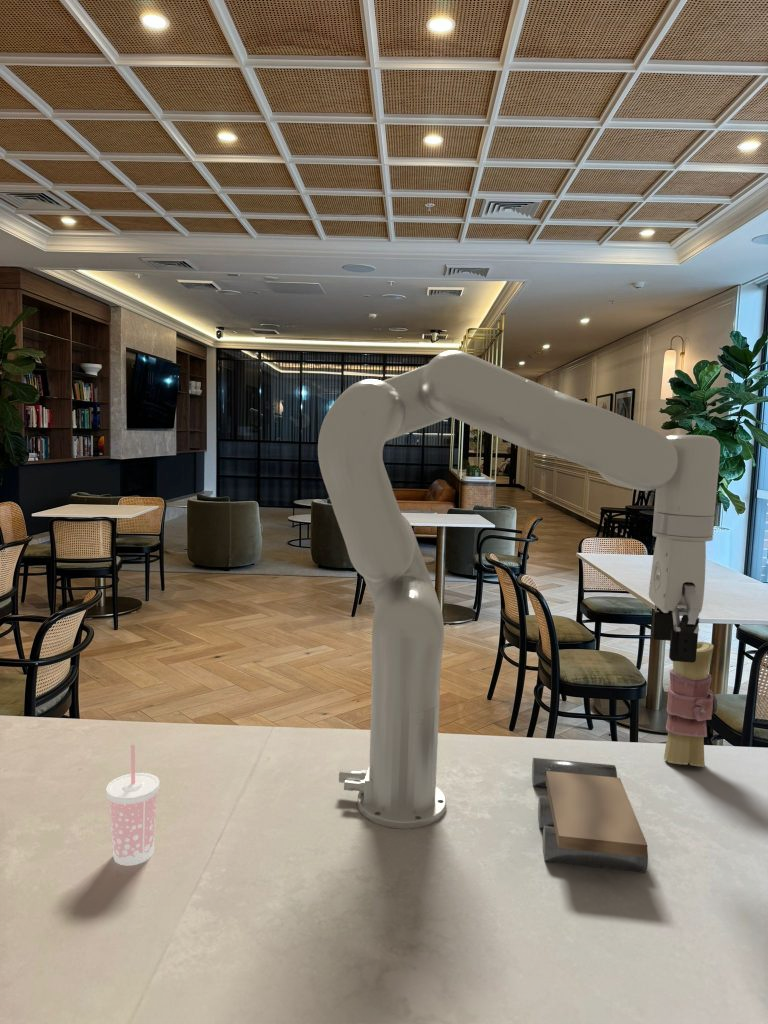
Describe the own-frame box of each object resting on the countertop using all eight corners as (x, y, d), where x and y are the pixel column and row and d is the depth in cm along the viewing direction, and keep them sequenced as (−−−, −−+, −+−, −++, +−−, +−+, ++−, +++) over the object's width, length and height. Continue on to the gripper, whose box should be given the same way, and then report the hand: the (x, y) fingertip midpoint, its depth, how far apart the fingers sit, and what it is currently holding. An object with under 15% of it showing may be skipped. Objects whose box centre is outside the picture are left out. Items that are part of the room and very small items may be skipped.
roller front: (544, 867, 85) (546, 837, 84) (542, 848, 88) (543, 819, 88) (646, 879, 83) (648, 848, 82) (639, 859, 87) (641, 829, 86)
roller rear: (539, 834, 93) (541, 813, 91) (537, 810, 96) (539, 789, 94) (631, 844, 91) (635, 823, 89) (626, 819, 95) (630, 798, 93)
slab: (558, 847, 81) (558, 835, 81) (545, 781, 97) (546, 770, 97) (646, 857, 80) (647, 845, 79) (619, 788, 95) (619, 777, 95)
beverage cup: (146, 834, 89) (145, 729, 87) (169, 855, 84) (168, 746, 83) (98, 853, 84) (96, 744, 83) (120, 876, 80) (118, 762, 78)
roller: (533, 790, 103) (534, 766, 103) (531, 776, 107) (532, 752, 106) (615, 799, 102) (618, 774, 101) (611, 783, 106) (613, 760, 105)
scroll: (718, 775, 109) (729, 653, 107) (668, 769, 111) (677, 648, 108) (705, 754, 116) (715, 639, 114) (659, 749, 118) (668, 635, 116)
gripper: (640, 518, 102) (632, 630, 104) (669, 533, 85) (658, 668, 87) (693, 520, 101) (684, 634, 103) (734, 537, 84) (721, 673, 86)
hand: (672, 649), depth 95 cm, fingers open, 9 cm apart
